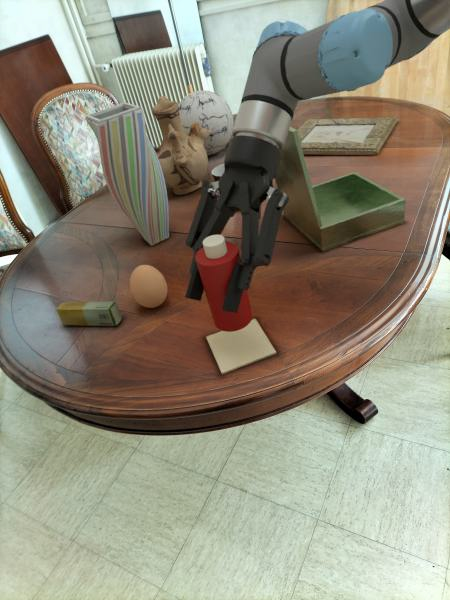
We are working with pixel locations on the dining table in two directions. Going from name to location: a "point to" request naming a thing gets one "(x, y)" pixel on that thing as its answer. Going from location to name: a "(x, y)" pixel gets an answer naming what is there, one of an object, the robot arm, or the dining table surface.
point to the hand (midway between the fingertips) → (210, 304)
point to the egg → (148, 286)
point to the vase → (132, 169)
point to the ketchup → (221, 282)
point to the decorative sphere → (208, 118)
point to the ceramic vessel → (180, 149)
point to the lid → (297, 178)
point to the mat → (240, 347)
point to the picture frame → (345, 135)
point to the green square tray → (348, 211)
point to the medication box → (89, 313)
